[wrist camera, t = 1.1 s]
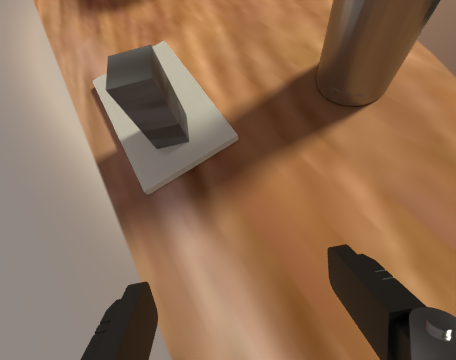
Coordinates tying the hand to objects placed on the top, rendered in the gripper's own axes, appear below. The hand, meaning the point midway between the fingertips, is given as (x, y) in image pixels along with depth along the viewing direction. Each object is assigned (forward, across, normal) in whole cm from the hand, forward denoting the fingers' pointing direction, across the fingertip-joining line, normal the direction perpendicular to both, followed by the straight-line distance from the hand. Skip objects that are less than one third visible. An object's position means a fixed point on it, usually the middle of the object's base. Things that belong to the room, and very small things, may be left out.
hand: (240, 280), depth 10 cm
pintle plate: (+30, +8, -9) cm, 32 cm away
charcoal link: (+25, +6, -6) cm, 26 cm away
